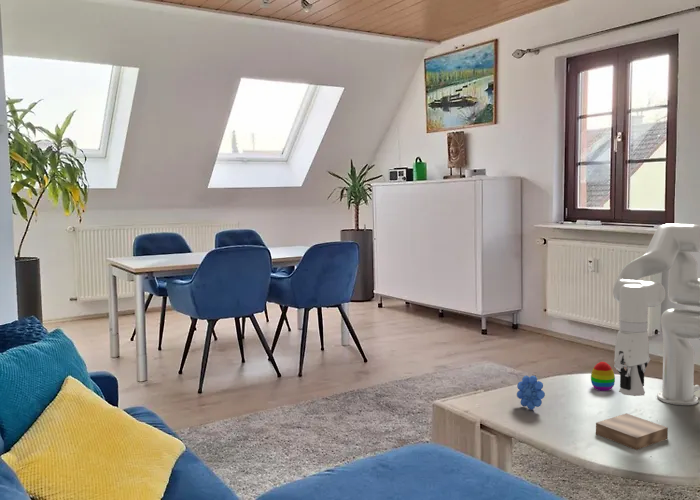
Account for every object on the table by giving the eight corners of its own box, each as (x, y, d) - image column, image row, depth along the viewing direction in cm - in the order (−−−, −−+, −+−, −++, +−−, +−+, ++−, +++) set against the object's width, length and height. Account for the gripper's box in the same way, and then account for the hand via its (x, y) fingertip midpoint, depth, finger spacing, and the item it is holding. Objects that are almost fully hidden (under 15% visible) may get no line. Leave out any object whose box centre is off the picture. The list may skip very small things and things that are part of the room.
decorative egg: (598, 383, 243) (598, 357, 242) (619, 388, 237) (619, 361, 236) (586, 388, 238) (586, 362, 237) (607, 393, 232) (607, 366, 231)
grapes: (553, 411, 216) (553, 376, 215) (538, 416, 212) (539, 380, 211) (526, 402, 226) (526, 368, 224) (512, 406, 222) (512, 371, 221)
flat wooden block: (626, 425, 203) (626, 413, 203) (667, 440, 191) (667, 427, 191) (595, 435, 197) (595, 422, 196) (636, 451, 184) (636, 437, 184)
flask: (648, 397, 188) (648, 363, 187) (621, 396, 190) (622, 362, 189) (642, 389, 195) (642, 356, 194) (616, 388, 197) (616, 356, 196)
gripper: (640, 320, 198) (639, 378, 200) (602, 328, 189) (601, 388, 191) (663, 325, 191) (661, 385, 193) (624, 333, 183) (623, 395, 185)
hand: (632, 386), depth 192 cm, fingers closed on flask, 5 cm apart
